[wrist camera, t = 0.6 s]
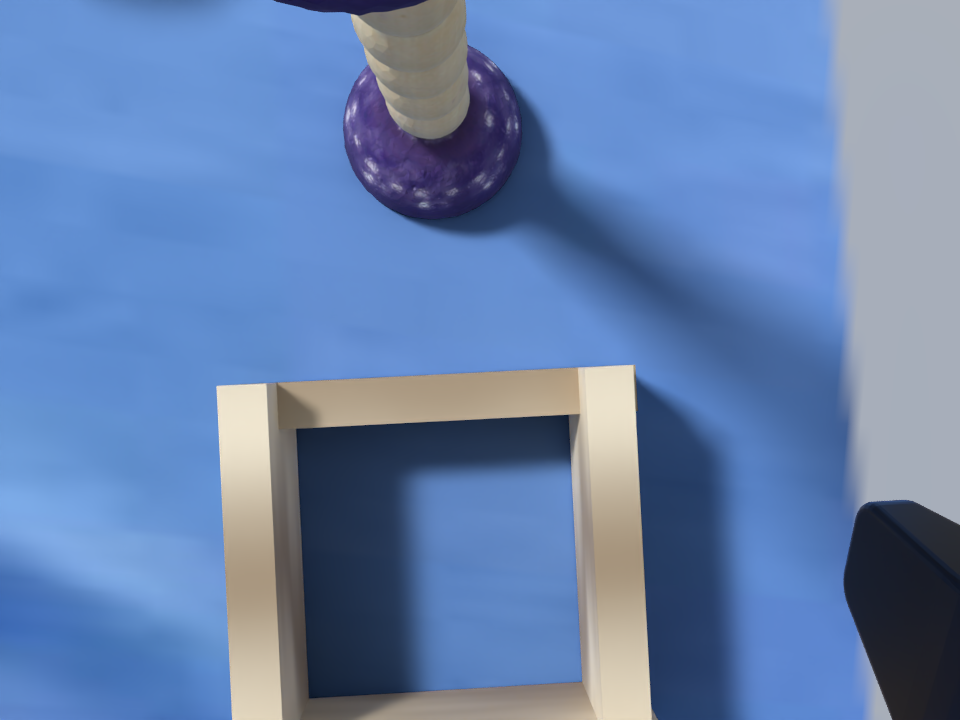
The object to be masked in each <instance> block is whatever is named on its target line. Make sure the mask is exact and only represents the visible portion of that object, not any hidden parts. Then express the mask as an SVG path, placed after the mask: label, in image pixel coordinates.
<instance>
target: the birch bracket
mask: <svg viewBox="0 0 960 720" xmlns="http://www.w3.org/2000/svg"><path fill="white" fill-rule="evenodd" d="M217 403H218V424H219V446H220V467H221V488H222V510H223V531H224V552H225V574H226V595H227V616H228V638H229V659H230V680H231V702H232V720H658V719H657V717H656V715H655V713H654V712H653V710H652V708H651V696H650V677H649V658H648V639H647V620H646V600H645V581H644V562H643V543H642V524H641V505H640V486H639V467H638V448H637V428H636V411H638V408H637V389H636V370H635V365H618V366H598V367H578V368H559V369H539V370H519V371H499V372H479V373H459V374H440V375H420V376H400V377H380V378H360V379H340V380H321V381H301V382H281V383H261V384H241V385H225V386H217ZM550 415H569V432H570V451H571V470H572V490H573V509H574V529H575V548H576V568H577V587H578V606H579V626H580V645H581V665H582V682H573V683H556V684H540V685H523V686H507V687H490V688H474V689H457V690H441V691H424V692H408V693H391V694H375V695H358V696H342V697H325V698H309V687H308V666H307V646H306V625H305V604H304V583H303V562H302V541H301V520H300V499H299V478H298V458H297V437H296V429H300V428H319V427H338V426H357V425H377V424H396V423H415V422H434V421H454V420H473V419H492V418H511V417H531V416H550Z"/></svg>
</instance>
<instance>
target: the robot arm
mask: <svg viewBox="0 0 960 720" xmlns="http://www.w3.org/2000/svg"><path fill="white" fill-rule="evenodd" d="M844 592H845V597H846V601H847V604H848V607H849V609H850V612H851V614H852V617H853V619H854V622H855V625H856V627H857V630H858V632H859V635H860V638H861V640H862V643H863V645H864V648H865V650H866V653H867V656H868V658H869V661H870V663H871V666H872V668H873V671H874V674H875V676H876V679H877V681H878V684H879V686H880V689H881V691H882V694H883V697H884V699H885V702H886V704H887V707H888V710H889V712H890V715H891V717H892V720H960V525H959V524H957V523H955V522H953V521H951V520H949V519H947V518H945V517H943V516H941V515H939V514H937V513H935V512H933V511H931V510H929V509H927V508H925V507H924V506H922V505H920V504H918V503H915V502H913V501H909V500H894V501H879V502H878V501H877V502H868V503H866V504H864V505H863V506H862V507H861V508H860V509H859V511H858V513H857V516H856V519H855V523H854V528H853V533H852V538H851V542H850V547H849V552H848V556H847V561H846V566H845V571H844Z"/></svg>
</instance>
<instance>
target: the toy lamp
mask: <svg viewBox="0 0 960 720" xmlns="http://www.w3.org/2000/svg"><path fill="white" fill-rule="evenodd" d="M274 1H276V2H280V3H285V4H289V5H293V6H298V7H302V8H305V9H307V10H313V11H319V12H346V13H350V14H351V18H352V22H353V26H354V29H355V31H356V33H357V35H358V37H359V40H360V41H361V43H362V44H363V46H364V51H365V54H366V58H367V62H368V65H367V67H366V68H365V69H364V70H363V71H362V72H361V74H360V76H359V77H358V79H357V80H356V81H355V83H354V86H353V88H352V90H351V93H350V94H349V97H348V101H347V104H346V108H345V114H344V121H343V131H344V140H345V149H346V152H347V156H348V158H349V161H350V164H351V166H352V169H353V171H354V172H355V174H356V176H357V178H358V179H359V180H360V182H361V183H362V184H363V186H364V187H365V188H366V190H367V191H368V192H370V193H371V194H372V195H373V196H374V197H375V198H376V199H377V200H378V201H380V202H381V203H382V204H384V205H385V206H387V207H388V208H390V209H393V210H396V211H397V212H399V213H401V214H404V215H408V216H411V217H418V218H424V219H440V218H447V217H454V216H459V215H461V214H464V213H467V212H469V211H470V210H473V209H475V208H477V207H478V206H480V205H481V204H483V203H484V202H486V201H487V200H489V199H491V198H492V197H493V196H494V195H495V194H496V193H497V192H498V191H499V190H500V188H501V187H502V186H503V185H504V183H505V182H506V180H507V179H508V177H509V176H510V174H511V172H512V170H513V168H514V166H515V164H516V162H517V160H518V156H519V153H520V147H521V140H522V127H521V114H520V110H519V107H518V103H517V100H516V97H515V94H514V91H513V89H512V87H511V85H510V84H509V82H508V80H507V78H506V77H505V75H504V74H503V73H502V71H501V70H500V69H499V68H498V67H497V66H496V65H495V64H494V63H493V62H492V61H491V60H490V59H489V58H488V57H486V56H485V55H484V54H482V53H481V52H480V51H478V50H476V49H475V48H473V47H471V46H469V45H467V37H466V32H465V24H466V5H465V0H274Z"/></svg>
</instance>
